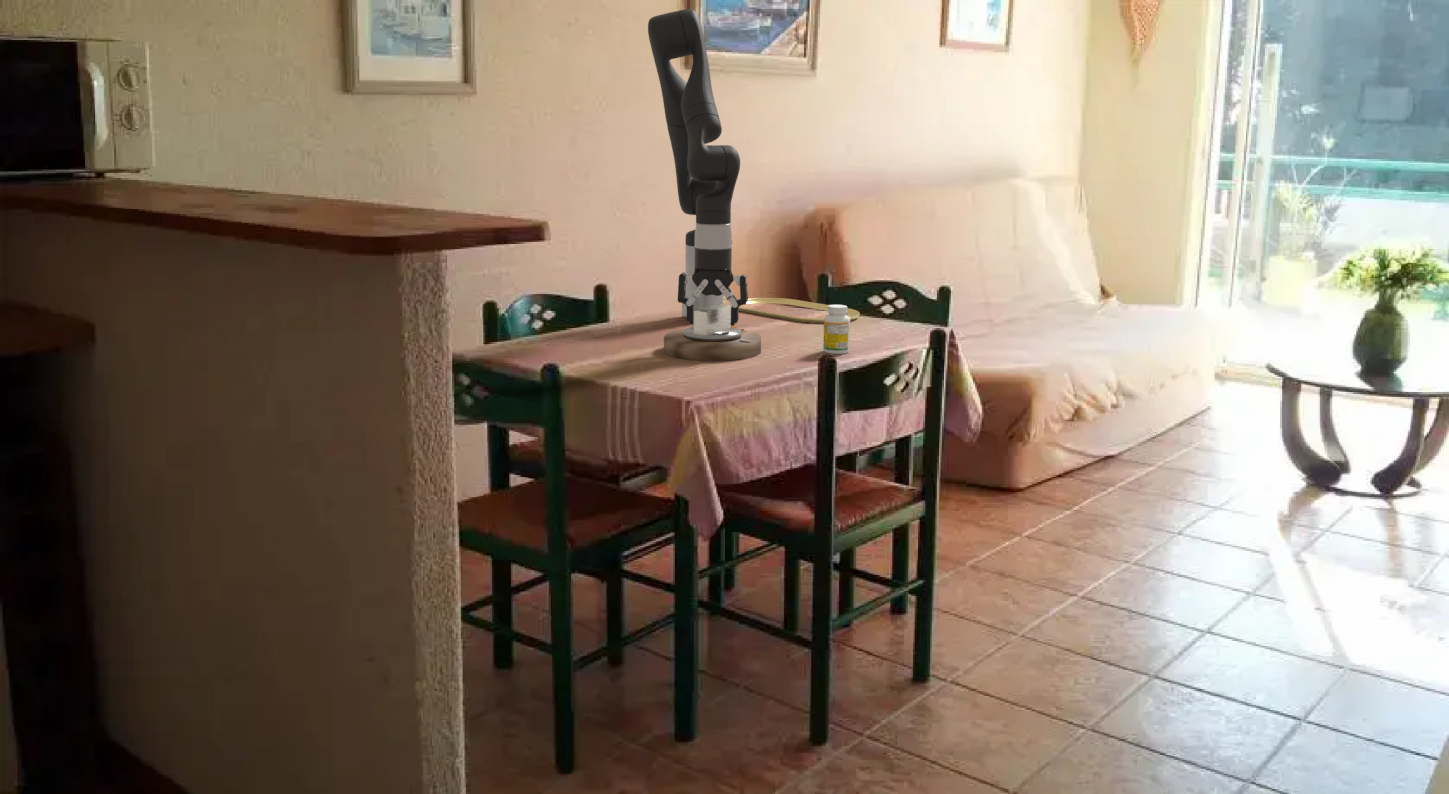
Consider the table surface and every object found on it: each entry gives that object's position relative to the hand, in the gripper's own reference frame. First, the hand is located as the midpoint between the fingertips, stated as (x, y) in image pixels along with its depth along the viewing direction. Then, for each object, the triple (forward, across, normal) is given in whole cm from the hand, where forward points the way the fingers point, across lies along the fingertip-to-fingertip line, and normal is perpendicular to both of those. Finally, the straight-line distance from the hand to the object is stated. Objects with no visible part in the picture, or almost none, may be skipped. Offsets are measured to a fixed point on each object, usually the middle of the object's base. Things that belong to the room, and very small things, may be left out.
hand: (712, 324), depth 265 cm
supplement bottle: (+6, +25, +4) cm, 26 cm away
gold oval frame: (+6, +13, +50) cm, 52 cm away
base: (+6, 0, 0) cm, 6 cm away
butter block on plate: (+2, 0, +1) cm, 3 cm away
